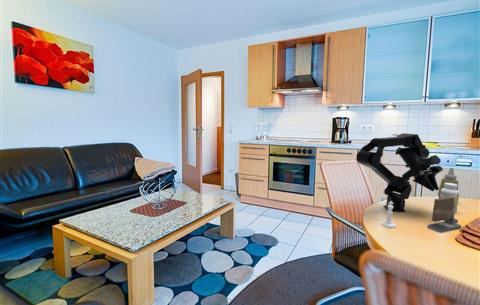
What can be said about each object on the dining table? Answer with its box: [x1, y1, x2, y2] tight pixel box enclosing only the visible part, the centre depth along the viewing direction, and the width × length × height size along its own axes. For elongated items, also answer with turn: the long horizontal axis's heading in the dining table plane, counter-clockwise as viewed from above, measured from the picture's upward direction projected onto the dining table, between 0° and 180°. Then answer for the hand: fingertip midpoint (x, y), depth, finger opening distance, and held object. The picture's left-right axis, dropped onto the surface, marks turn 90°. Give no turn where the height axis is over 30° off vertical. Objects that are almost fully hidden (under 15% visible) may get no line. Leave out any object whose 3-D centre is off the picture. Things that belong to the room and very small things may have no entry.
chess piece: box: [380, 201, 396, 229], centre depth 98 cm, size 5×5×10 cm
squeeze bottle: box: [437, 167, 459, 199], centre depth 128 cm, size 8×8×18 cm
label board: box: [427, 218, 462, 234], centre depth 100 cm, size 8×18×1 cm, turn 111°
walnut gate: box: [431, 196, 457, 223], centre depth 102 cm, size 2×12×9 cm, turn 111°
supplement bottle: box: [440, 183, 460, 213], centre depth 116 cm, size 7×7×13 cm
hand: (435, 190), depth 105 cm, fingers open, 2 cm apart
